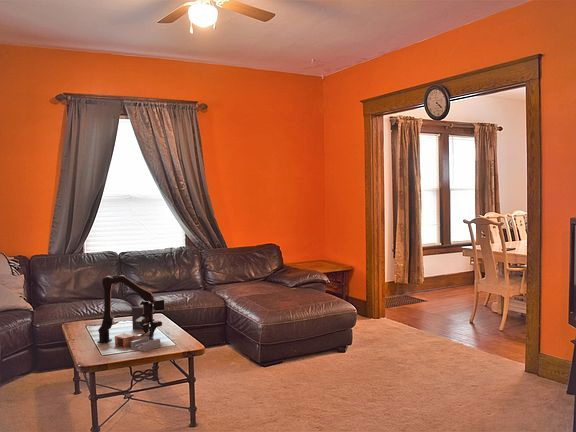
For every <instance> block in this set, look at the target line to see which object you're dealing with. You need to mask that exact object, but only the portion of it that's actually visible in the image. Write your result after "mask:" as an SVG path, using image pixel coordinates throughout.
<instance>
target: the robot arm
mask: <svg viewBox="0 0 576 432" xmlns="http://www.w3.org/2000/svg"><path fill="white" fill-rule="evenodd" d="M118 283H122V284H124V285H125V286H126V287H128V288H129V289H131V290H132V291H133V292H135V293H136V294H137V295H138V296H139V297H140V298H141V299H142V301H141V302H140V303H139V305H140V306H142V307H143V313H142V315H141V317H140V318H138V319H136V320H135V324H136V325H137V326H140V327H142V329H143V330H142V331H143V333H147V332H150V337H152V336H153V334H154V333H155V331H156V329H157V328H159V327H162V326H163V322H162V320H155V319H154V315H155V312H154V311H156V312H158V311H159V312H160V311H161V312H163V311H166V304H165V299H156V298H155V297H154V295H153V293H152V291H151V290H149V289H147V288H144V287H141V286H140V285H138V283H136V282H134V281H133V280H131V279H130V278H129V277H127V276H126V275H124V274H121V275H106V276H105V277H104V278H103V279H102V287H103V289H102V290H103V291H104V295H103V297H104V300H103V303H104V304H103V317H102V323H101V326H99V328H98V329H97V331H98V334H99V335H98V337H99V339H98V341H96V343H97V344H99V343H100V344H108V343H109V342H111V341H112V339H110V330H111V328H112V327H113V325H114V324H115V321H114V320H115V319H114V318H115V315H112V290H113V287H114V286H113V285H114V284H118ZM149 325H150V327H149ZM148 328H149V330H148ZM154 335H155V334H154Z"/></svg>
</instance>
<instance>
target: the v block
mask: <svg viewBox="0 0 576 432" xmlns="http://www.w3.org/2000/svg"><path fill="white" fill-rule="evenodd" d="M157 348H161V339H160V338H156V339H153V340H151V339H149V337H145V338H141V339H138V340H135V341H131V347H130V349H131V350H136V351H141V352H147V351H150V350H153V349H157Z"/></svg>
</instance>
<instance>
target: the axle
mask: <svg viewBox="0 0 576 432" xmlns="http://www.w3.org/2000/svg"><path fill="white" fill-rule="evenodd" d="M154 335H155V334H153V336H152V337H150V331H148V332H147V333H144V332H143V333H141V334H137V335H135V340H138V339H141V338H145V337H149V340H151V339H152V338H154Z"/></svg>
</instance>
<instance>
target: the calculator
mask: <svg viewBox="0 0 576 432" xmlns="http://www.w3.org/2000/svg"><path fill="white" fill-rule="evenodd" d="M142 313H143V306H132V307H131V315H132V319H131V320H132V322H131V323H132V331H143V329H142V327H140V326H137V325H136V324H135V320H136V319H138V318H140V317H141V315H142ZM149 327H150V325H149ZM148 331H150V329H149V328H148Z"/></svg>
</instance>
